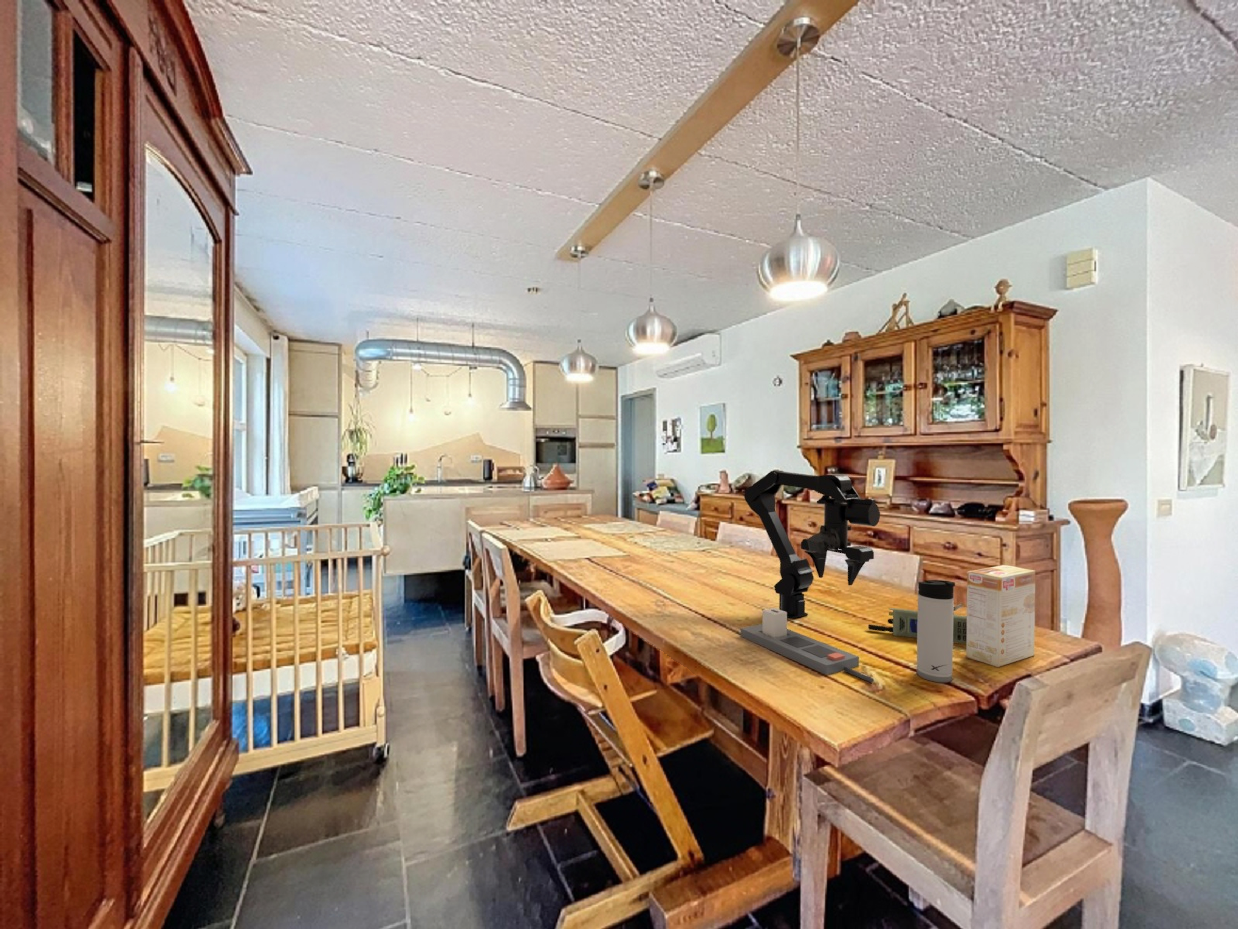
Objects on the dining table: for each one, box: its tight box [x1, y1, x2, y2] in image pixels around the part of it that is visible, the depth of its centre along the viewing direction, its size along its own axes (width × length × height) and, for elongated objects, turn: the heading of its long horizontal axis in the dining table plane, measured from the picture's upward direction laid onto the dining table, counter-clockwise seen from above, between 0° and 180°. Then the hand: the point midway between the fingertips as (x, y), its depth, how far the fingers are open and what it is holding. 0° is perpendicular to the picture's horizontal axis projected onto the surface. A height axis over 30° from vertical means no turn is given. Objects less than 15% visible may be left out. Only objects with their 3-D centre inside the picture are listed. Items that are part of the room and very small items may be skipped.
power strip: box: [740, 623, 874, 683], centre depth 119 cm, size 33×10×3 cm, turn 29°
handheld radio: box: [867, 607, 967, 645], centre depth 130 cm, size 7×3×25 cm
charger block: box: [762, 607, 788, 638], centre depth 127 cm, size 4×4×7 cm
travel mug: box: [916, 579, 956, 684], centre depth 107 cm, size 6×7×20 cm
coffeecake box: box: [965, 564, 1036, 668], centre depth 118 cm, size 15×7×20 cm, turn 117°
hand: (835, 581), depth 138 cm, fingers open, 9 cm apart
